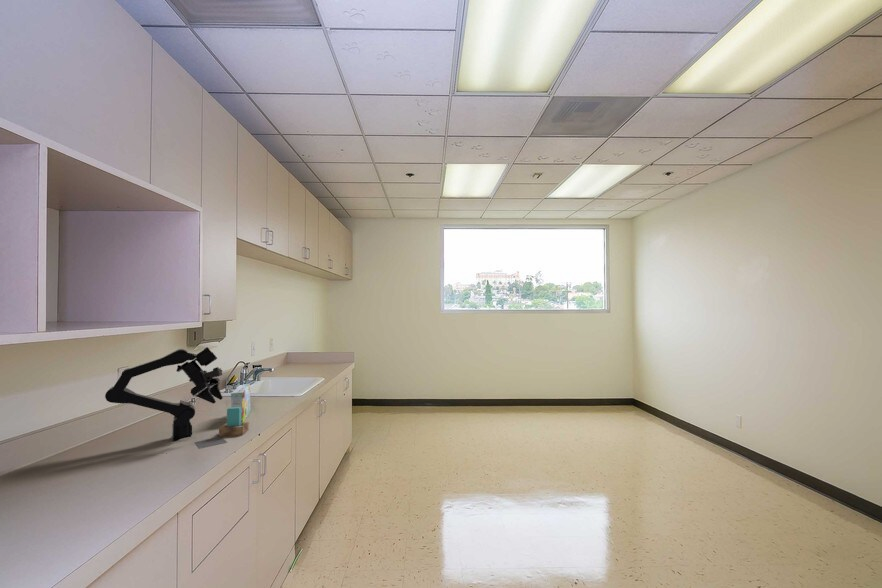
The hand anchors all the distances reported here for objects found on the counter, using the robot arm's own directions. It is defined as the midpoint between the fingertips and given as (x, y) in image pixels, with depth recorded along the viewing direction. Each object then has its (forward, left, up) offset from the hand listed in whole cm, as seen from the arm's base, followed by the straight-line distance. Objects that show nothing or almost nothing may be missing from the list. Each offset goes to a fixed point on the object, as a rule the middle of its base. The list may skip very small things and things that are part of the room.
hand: (218, 400), depth 169 cm
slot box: (+5, -5, -15) cm, 16 cm away
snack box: (+14, +21, -15) cm, 30 cm away
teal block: (+5, -5, -14) cm, 16 cm away
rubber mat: (-5, -11, -15) cm, 19 cm away
